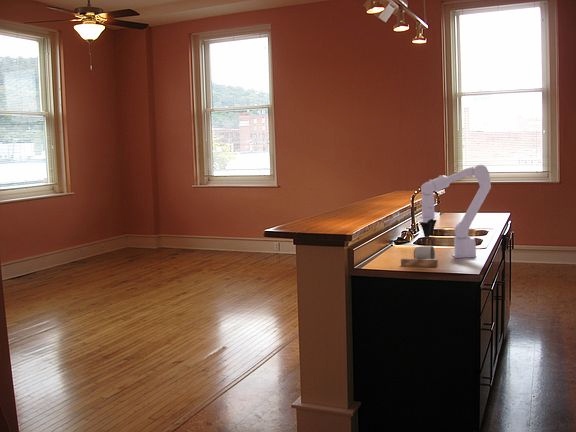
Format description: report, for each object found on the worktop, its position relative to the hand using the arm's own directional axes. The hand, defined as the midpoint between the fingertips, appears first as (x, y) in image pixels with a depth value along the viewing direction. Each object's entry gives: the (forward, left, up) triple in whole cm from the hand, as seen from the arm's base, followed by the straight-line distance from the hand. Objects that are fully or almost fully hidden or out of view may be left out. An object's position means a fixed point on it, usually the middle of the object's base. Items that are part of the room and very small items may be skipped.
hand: (428, 236), depth 309 cm
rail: (+9, +23, -10) cm, 27 cm away
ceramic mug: (+6, +17, -10) cm, 20 cm away
